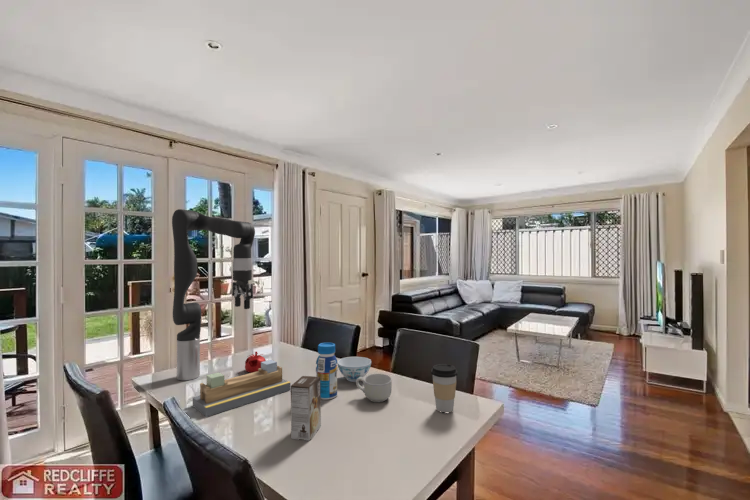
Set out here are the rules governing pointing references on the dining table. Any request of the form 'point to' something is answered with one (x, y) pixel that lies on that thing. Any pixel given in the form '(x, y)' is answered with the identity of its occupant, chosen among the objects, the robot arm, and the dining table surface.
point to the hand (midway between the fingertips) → (242, 307)
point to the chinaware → (354, 367)
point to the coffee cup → (444, 386)
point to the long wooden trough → (240, 385)
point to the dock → (239, 398)
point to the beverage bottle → (327, 370)
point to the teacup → (376, 386)
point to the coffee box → (305, 407)
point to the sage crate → (215, 380)
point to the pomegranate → (254, 362)
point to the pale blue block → (269, 366)
